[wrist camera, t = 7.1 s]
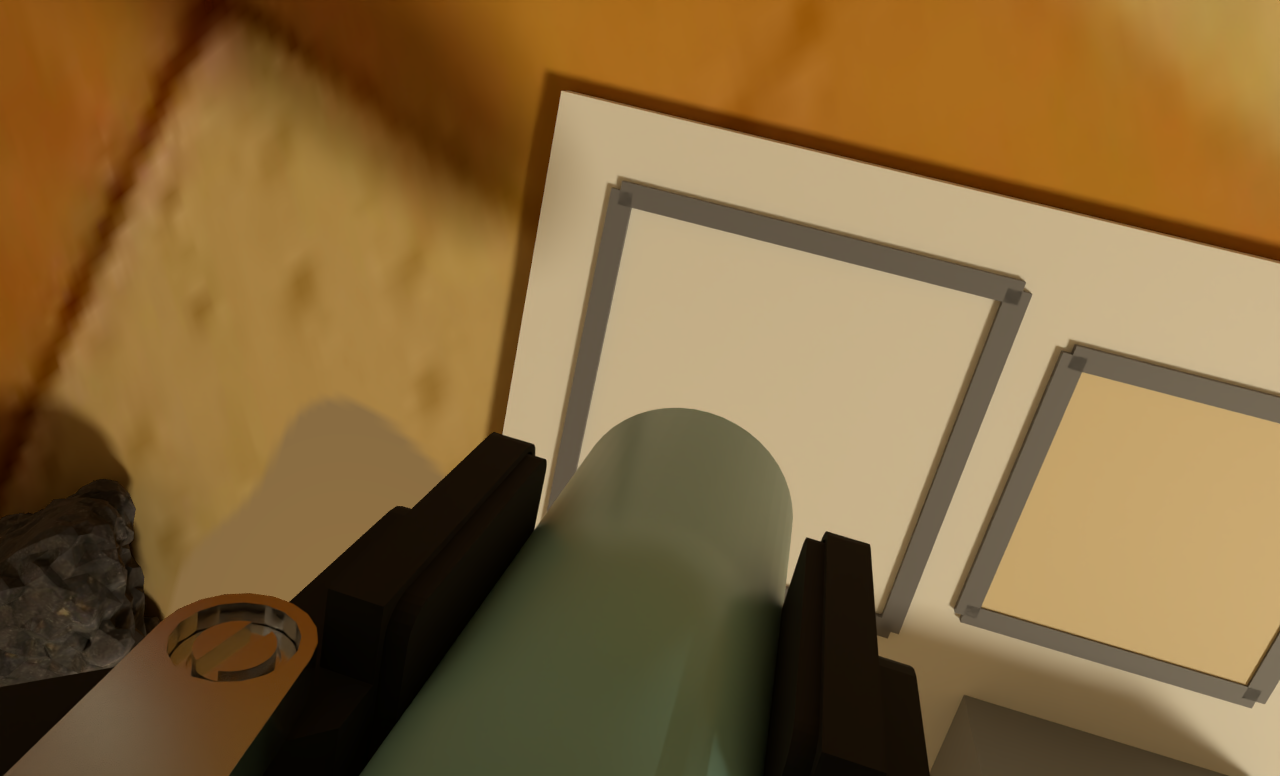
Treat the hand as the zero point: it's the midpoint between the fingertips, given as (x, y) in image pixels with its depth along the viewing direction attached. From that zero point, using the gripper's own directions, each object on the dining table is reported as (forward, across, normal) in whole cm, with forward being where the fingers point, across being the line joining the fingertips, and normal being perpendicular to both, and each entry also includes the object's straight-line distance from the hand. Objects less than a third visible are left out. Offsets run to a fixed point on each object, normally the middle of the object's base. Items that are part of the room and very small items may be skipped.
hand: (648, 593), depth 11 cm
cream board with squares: (+10, -5, +4) cm, 12 cm away
